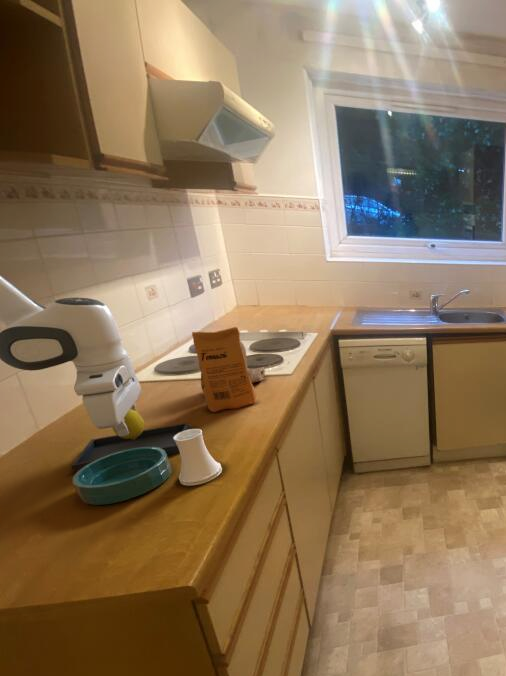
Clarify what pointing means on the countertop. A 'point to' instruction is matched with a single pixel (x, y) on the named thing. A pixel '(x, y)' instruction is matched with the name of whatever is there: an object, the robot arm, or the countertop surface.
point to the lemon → (133, 425)
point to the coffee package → (223, 370)
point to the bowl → (122, 475)
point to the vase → (195, 458)
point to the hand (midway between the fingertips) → (129, 427)
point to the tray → (130, 444)
